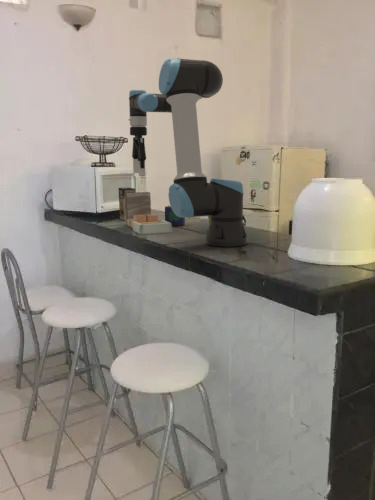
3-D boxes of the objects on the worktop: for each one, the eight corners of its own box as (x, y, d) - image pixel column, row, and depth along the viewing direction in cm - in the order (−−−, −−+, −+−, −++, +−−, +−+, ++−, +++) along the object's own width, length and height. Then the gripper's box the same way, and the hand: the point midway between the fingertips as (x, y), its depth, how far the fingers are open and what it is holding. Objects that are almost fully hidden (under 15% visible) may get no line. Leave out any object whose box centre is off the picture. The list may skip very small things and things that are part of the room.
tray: (171, 232, 194) (171, 223, 193) (140, 234, 189) (140, 225, 188) (163, 228, 205) (162, 219, 204) (133, 230, 200) (132, 221, 199)
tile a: (157, 221, 205) (157, 215, 204) (147, 222, 203) (147, 215, 202) (154, 220, 209) (154, 213, 209) (144, 220, 208) (144, 214, 207)
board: (160, 228, 204) (160, 222, 203) (136, 230, 200) (135, 223, 200) (147, 222, 222) (147, 216, 222) (125, 224, 219) (125, 218, 218)
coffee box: (119, 219, 238) (117, 187, 235) (131, 218, 240) (130, 187, 237) (124, 221, 230) (123, 188, 226) (136, 220, 232) (135, 188, 229)
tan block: (151, 218, 217) (150, 192, 214) (128, 219, 213) (127, 193, 210) (148, 217, 220) (147, 191, 218) (126, 218, 217) (125, 192, 214)
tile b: (146, 222, 203) (146, 215, 202) (136, 223, 201) (136, 216, 201) (143, 221, 207) (143, 214, 207) (133, 221, 206) (133, 215, 205)
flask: (185, 225, 214) (184, 202, 212) (184, 226, 211) (184, 202, 209) (165, 225, 214) (164, 202, 212) (164, 226, 211) (164, 203, 209)
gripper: (125, 126, 216) (126, 172, 221) (135, 126, 193) (136, 177, 198) (141, 126, 218) (141, 171, 223) (152, 126, 195) (153, 176, 200)
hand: (139, 174), depth 211 cm, fingers open, 13 cm apart
